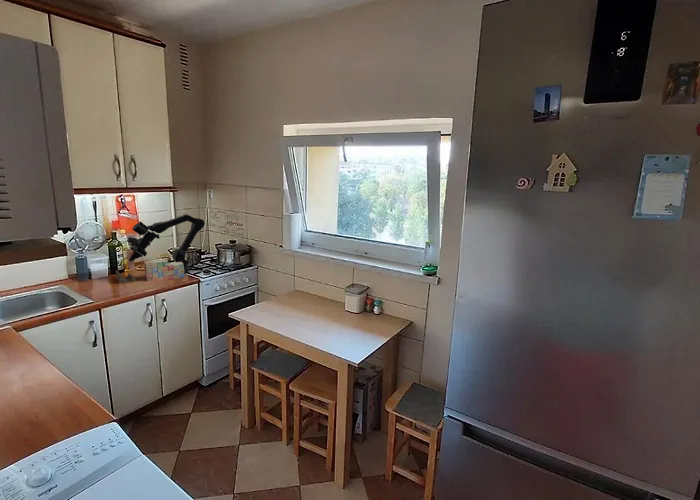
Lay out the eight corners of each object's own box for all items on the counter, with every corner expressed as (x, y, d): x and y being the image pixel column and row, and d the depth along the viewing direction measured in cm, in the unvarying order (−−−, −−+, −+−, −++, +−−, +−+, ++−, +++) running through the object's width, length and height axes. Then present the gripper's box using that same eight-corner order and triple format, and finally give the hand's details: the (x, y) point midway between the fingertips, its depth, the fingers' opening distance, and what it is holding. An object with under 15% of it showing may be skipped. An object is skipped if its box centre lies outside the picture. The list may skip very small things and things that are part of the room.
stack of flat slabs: (133, 277, 234) (132, 268, 233) (137, 282, 226) (136, 273, 224) (116, 279, 229) (115, 270, 227) (120, 285, 220) (119, 275, 218)
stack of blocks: (182, 275, 243) (181, 257, 240) (184, 277, 238) (183, 259, 236) (145, 280, 231) (143, 261, 228) (147, 283, 226) (145, 263, 223)
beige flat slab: (133, 267, 230) (130, 248, 227) (135, 270, 226) (133, 250, 223) (128, 268, 229) (126, 249, 226) (130, 270, 224) (128, 251, 221)
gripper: (131, 229, 231) (113, 248, 227) (138, 234, 218) (119, 255, 213) (147, 240, 238) (129, 259, 234) (154, 246, 224) (136, 266, 220)
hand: (128, 259), depth 225 cm, fingers closed on beige flat slab, 6 cm apart
